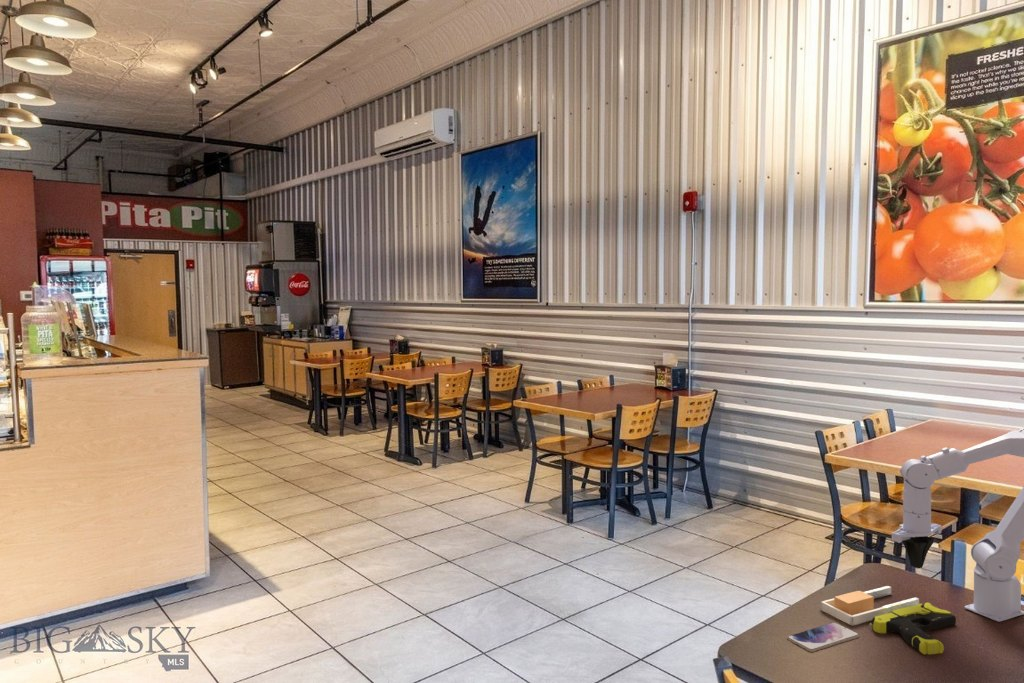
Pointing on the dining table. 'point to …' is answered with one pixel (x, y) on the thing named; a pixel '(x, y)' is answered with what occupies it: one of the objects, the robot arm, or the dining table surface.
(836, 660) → the dining table surface
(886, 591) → the rail channel
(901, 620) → the stun gun
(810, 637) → the smartphone
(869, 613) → the tray
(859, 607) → the tan wooden cube
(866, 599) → the light orange cube
